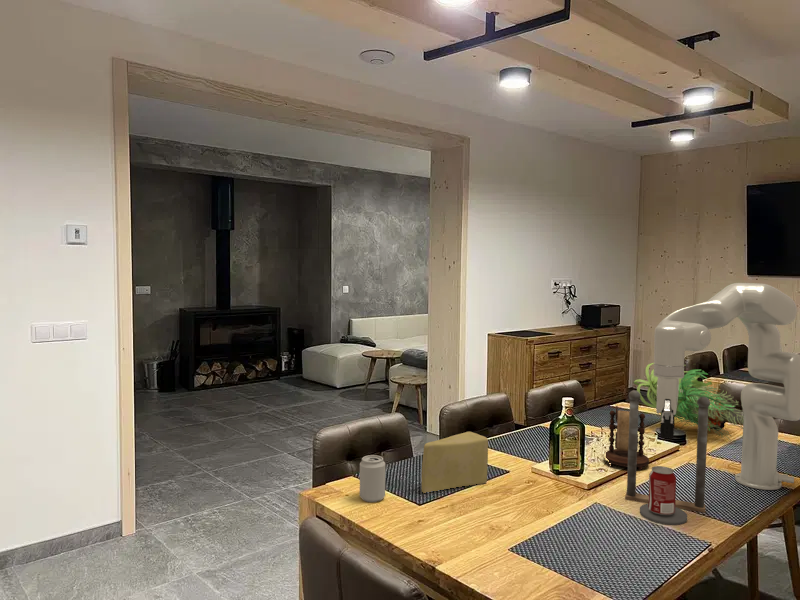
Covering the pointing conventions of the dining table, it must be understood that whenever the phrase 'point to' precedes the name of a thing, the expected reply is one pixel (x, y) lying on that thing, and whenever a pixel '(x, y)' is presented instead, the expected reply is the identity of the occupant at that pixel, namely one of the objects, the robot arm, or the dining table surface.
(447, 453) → the cheese
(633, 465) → the gate
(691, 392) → the plant
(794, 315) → the robot arm
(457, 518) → the dining table surface
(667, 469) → the soda can
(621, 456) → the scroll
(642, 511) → the coaster
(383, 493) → the can
